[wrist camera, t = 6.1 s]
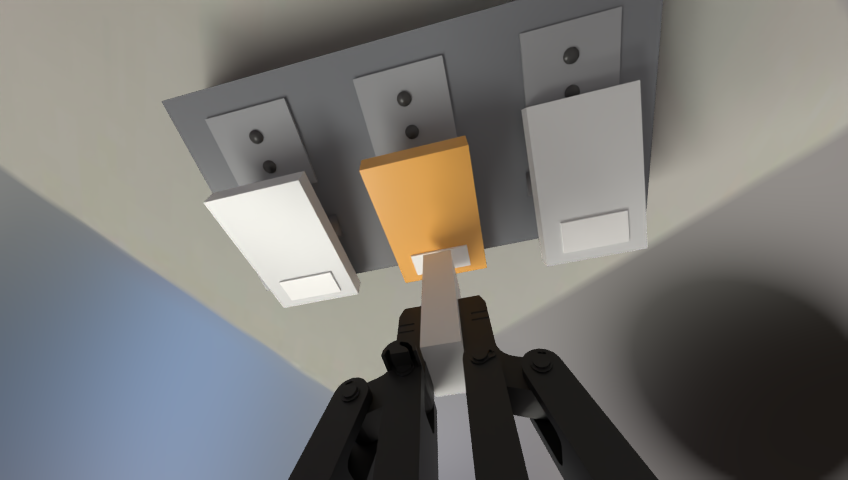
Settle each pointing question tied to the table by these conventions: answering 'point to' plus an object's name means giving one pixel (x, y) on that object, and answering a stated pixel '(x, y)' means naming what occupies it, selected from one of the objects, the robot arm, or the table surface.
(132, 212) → the table surface
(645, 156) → the power strip
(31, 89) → the table surface
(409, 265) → the plate
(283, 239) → the rocker
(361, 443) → the robot arm
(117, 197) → the table surface
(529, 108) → the rocker
